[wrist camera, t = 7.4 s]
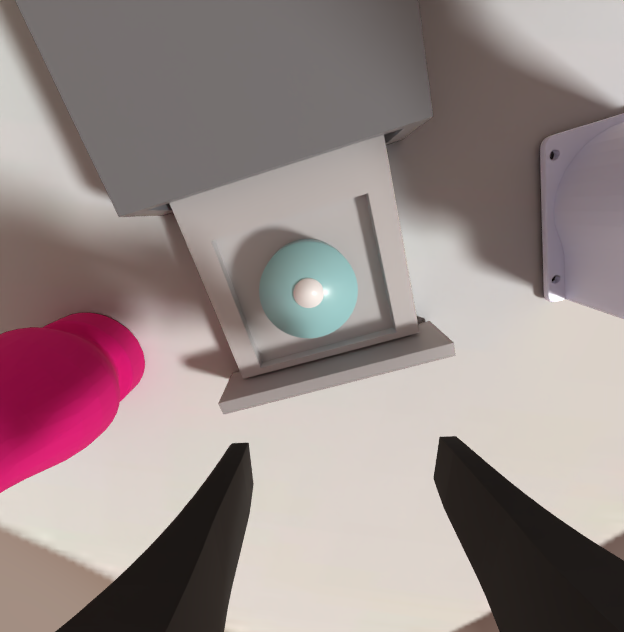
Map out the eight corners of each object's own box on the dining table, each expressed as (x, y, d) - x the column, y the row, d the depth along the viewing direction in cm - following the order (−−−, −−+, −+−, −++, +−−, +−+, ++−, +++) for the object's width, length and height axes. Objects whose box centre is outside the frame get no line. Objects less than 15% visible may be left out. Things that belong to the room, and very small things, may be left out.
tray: (431, 335, 20) (456, 360, 16) (238, 386, 21) (225, 418, 18) (392, 99, 15) (415, 69, 12) (148, 179, 16) (110, 171, 13)
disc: (357, 316, 18) (364, 329, 16) (275, 332, 19) (271, 346, 17) (345, 230, 17) (350, 233, 15) (254, 248, 17) (247, 253, 15)
